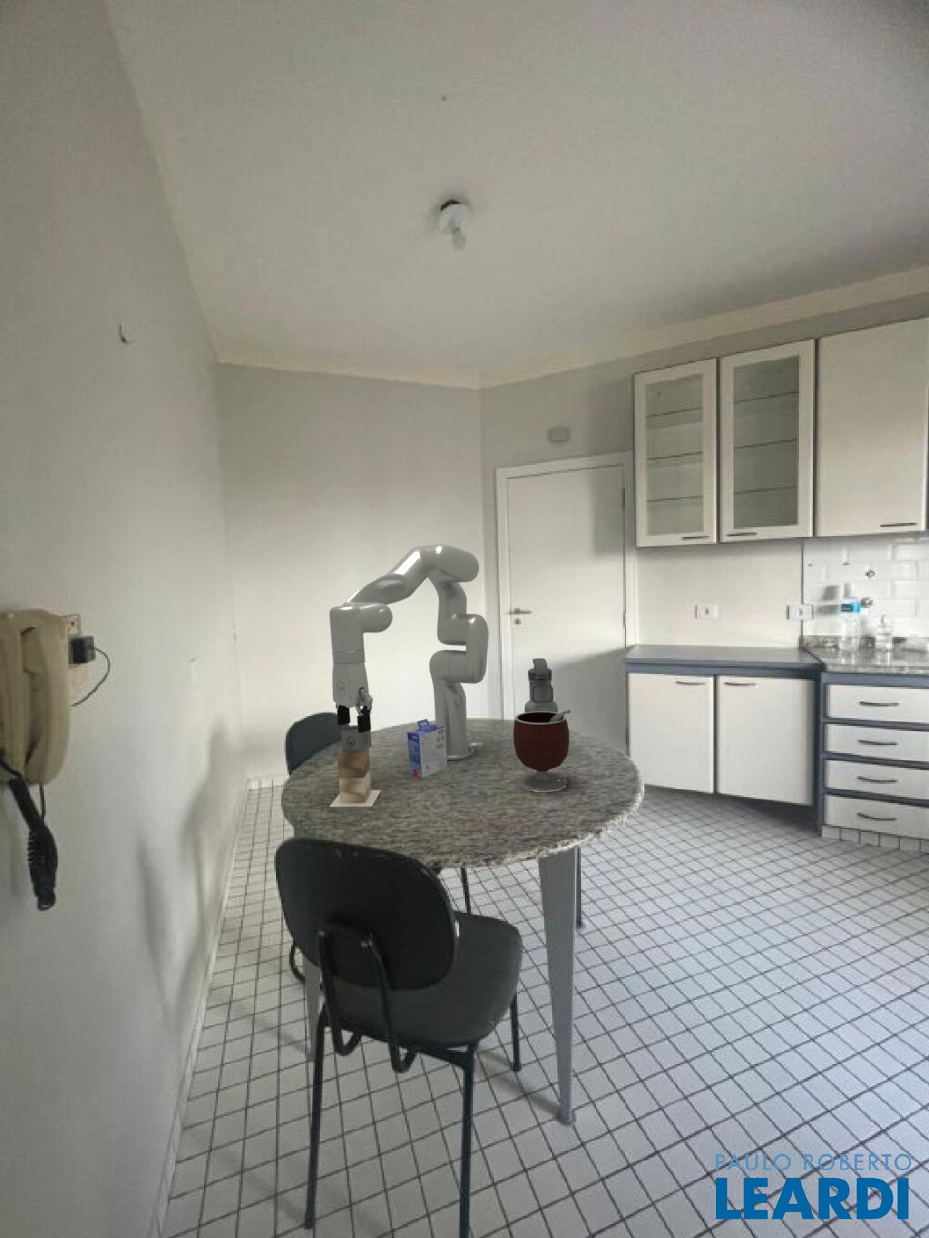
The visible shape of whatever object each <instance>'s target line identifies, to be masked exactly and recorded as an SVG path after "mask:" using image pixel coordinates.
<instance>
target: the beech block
mask: <svg viewBox="0 0 929 1238" xmlns="http://www.w3.org/2000/svg"><path fill="white" fill-rule="evenodd" d="M371 780H372V778H371V769H370V770H369V771H368V773H367V774H366V776H365V777H364V778H339V777H338V786H339V794H340V803H366V801H367V799H368V798H369V796H370V795H371V790H372V781H371Z"/></svg>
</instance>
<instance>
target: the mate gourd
mask: <svg viewBox="0 0 929 1238" xmlns="http://www.w3.org/2000/svg"><path fill="white" fill-rule="evenodd" d="M567 714H571V710H570V709H567V710H563V711H561V712H558V713H557V712H549V711H534V712H526V713H525V712H522V713H518V714H516V715H515V717H514V723H513V733H512V735H513V737H512V739H513V746H514V750H515V751H514V752H515V754H516V757H517V758H518V760H519V762H520V763H522V765H523V766H525V767H527V768H528V769H532V770H535V771H536V772H535V773H528V774H526V775H523V776H521V777H519V779H518V781H517V782H518V784H519V785H520V786H521V787H522V788H524V789H527V790H538V791H548V790H558V789H561V788H563V787H564V786H566V784H567V785H568V780H567V778H566V777H564V776H561V775H559V774H555V773H549V771H550V770H554V769H555V768H557V767H560V766H561V765H562V764H564V763H563V762H564V761H565V760H566V758H567V757H568V753H569V748H570V729H569V725H568V721H567V716H566V715H567ZM558 780H560V781H558ZM564 780H567V781H564ZM519 785H518V786H519ZM522 788H521V789H522ZM524 789H523V790H524Z"/></svg>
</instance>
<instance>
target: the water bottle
mask: <svg viewBox="0 0 929 1238" xmlns="http://www.w3.org/2000/svg"><path fill="white" fill-rule="evenodd" d="M532 664H533V668H530V669H528V670H527V678H528V679H527V681H528V682H529V683H528V684H529V686H528V688H529V689H528V690H529V700H528V701H527V702H526V703H525V704H524V713H526V712H534V711H549V712H557V713H559V707H558V703H557V702H556V701H554V687H553V685H552V681H553V670H552V669H551V668H549V667H548V662H547V660H546V659H545V658H544V657H543V658H541V657H540V658H539V657H538V658H532Z"/></svg>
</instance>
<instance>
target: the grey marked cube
mask: <svg viewBox="0 0 929 1238" xmlns="http://www.w3.org/2000/svg"><path fill="white" fill-rule="evenodd" d="M371 730H372V729H371ZM371 730H370V731H366V732H362V733H359V732H358V724H357V725H354V724H352V725H351V726H348V727H346V728H344V729H342V730H341V731H340V732H341V733H340V735H341V736H340V737H341V749H342V751H347V752H359V753H361V752H362V751H364V750H366V749H368V748H369V749H370V748H371V747H372V733H371Z"/></svg>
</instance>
